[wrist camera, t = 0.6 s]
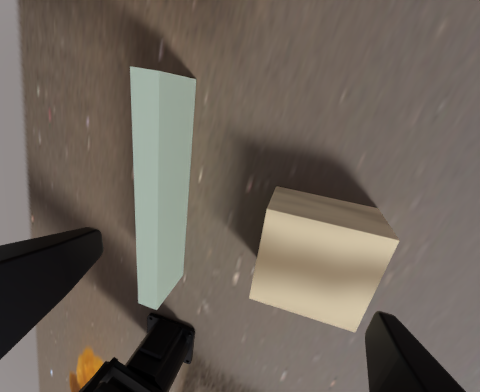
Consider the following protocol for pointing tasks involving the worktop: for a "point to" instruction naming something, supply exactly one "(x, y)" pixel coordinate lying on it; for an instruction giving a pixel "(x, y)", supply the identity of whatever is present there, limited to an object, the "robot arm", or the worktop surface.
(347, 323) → the maple block
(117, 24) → the worktop surface
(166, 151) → the sage board
